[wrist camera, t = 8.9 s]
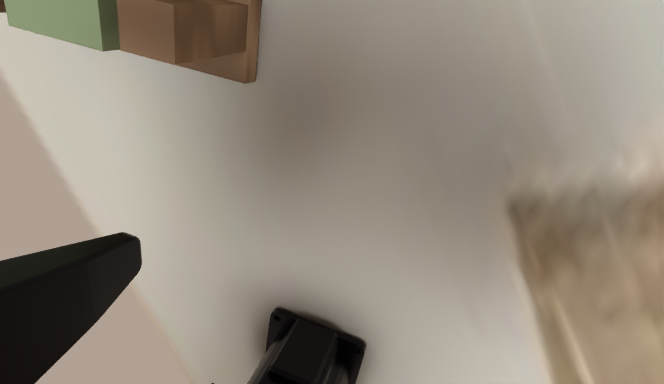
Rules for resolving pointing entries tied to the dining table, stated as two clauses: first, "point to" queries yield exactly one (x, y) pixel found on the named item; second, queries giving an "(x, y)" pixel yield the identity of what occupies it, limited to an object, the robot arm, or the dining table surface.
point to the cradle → (193, 34)
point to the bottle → (69, 20)
